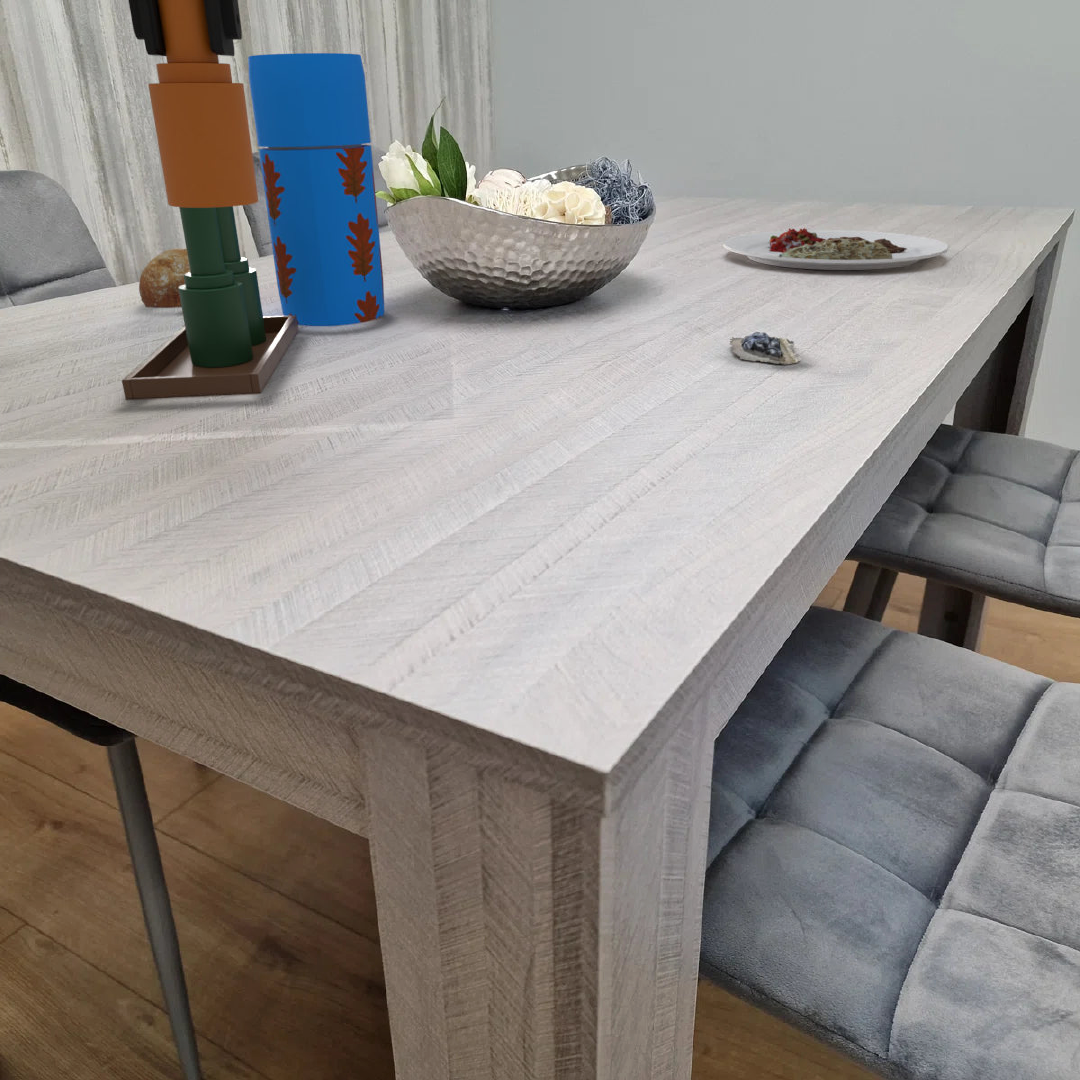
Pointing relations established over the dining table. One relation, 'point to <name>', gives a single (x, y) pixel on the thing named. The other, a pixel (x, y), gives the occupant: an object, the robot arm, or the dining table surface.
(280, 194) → the thermos
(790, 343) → the blueberry tart
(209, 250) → the green bottle
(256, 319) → the green bottle
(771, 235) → the plated food
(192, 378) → the tray
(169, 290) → the bread roll
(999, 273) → the dining table surface
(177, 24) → the amber bottle
